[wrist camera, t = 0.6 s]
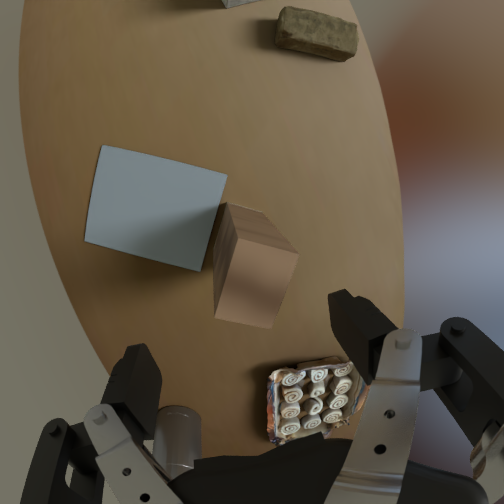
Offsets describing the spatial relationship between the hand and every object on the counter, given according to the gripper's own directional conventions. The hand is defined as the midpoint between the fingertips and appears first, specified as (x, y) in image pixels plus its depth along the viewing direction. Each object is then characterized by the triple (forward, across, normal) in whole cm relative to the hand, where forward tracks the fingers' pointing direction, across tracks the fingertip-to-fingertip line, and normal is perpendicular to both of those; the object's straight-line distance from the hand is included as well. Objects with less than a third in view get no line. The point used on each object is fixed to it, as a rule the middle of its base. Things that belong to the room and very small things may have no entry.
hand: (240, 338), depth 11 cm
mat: (+29, -9, +3) cm, 30 cm away
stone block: (+29, +19, +22) cm, 41 cm away
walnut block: (+29, +2, -3) cm, 29 cm away
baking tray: (+29, +8, -41) cm, 51 cm away
